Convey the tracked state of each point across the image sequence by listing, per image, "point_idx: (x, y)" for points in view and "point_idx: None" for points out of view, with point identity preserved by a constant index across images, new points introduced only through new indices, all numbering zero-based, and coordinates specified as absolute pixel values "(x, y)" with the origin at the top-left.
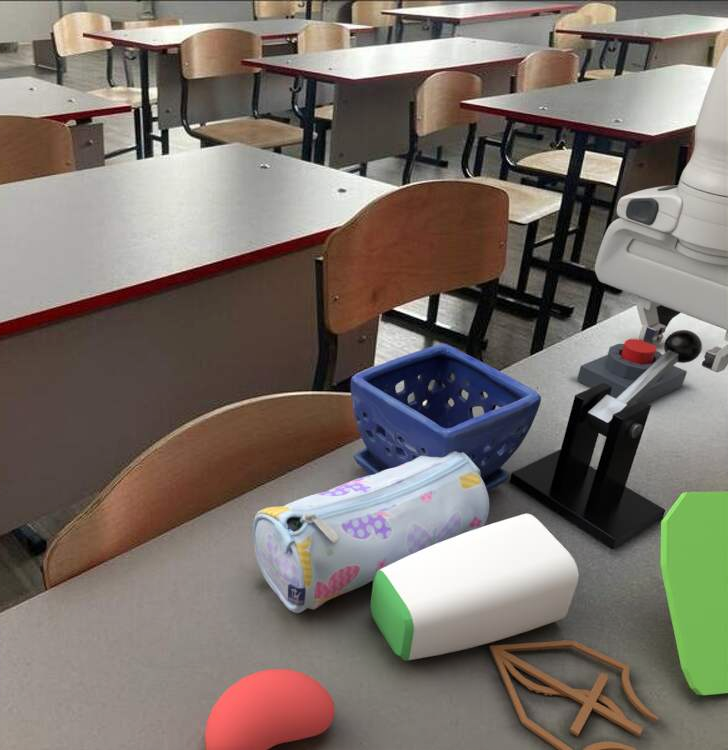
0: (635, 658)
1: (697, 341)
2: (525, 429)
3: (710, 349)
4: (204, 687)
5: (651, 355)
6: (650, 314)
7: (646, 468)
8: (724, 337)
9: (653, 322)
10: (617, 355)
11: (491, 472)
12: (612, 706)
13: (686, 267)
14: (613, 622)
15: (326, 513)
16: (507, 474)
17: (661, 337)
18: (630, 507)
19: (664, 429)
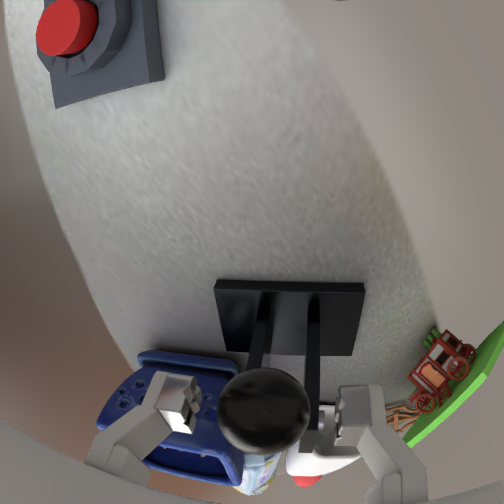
0: (405, 392)
1: (294, 441)
2: None
3: (337, 438)
4: (279, 465)
5: (84, 20)
6: (144, 441)
7: (291, 208)
8: (365, 495)
9: (160, 425)
10: (58, 62)
11: None
12: (405, 415)
13: None
14: (384, 386)
15: (253, 488)
16: (235, 372)
17: (191, 389)
18: (336, 316)
19: (232, 84)
